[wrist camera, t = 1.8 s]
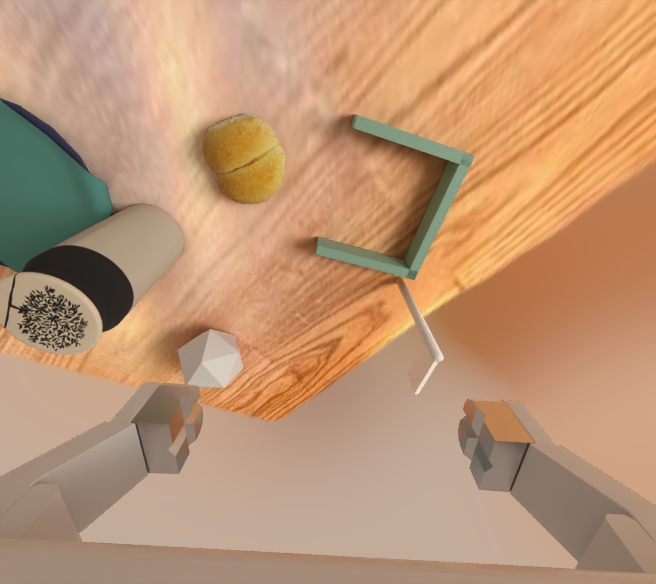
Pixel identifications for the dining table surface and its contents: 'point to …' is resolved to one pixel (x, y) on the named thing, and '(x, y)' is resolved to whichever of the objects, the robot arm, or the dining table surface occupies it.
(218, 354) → the die
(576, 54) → the dining table surface
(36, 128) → the cutlery set
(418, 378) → the green pocket
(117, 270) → the travel mug
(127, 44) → the dining table surface
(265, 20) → the dining table surface
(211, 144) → the bread roll
